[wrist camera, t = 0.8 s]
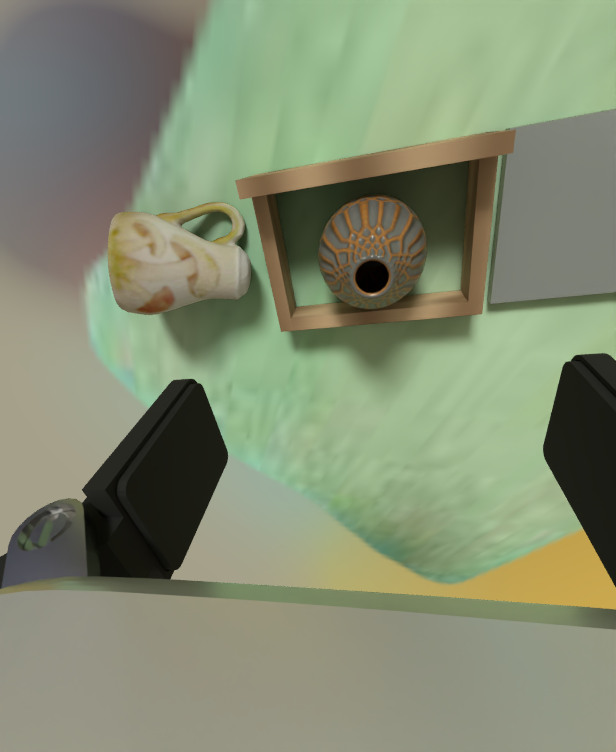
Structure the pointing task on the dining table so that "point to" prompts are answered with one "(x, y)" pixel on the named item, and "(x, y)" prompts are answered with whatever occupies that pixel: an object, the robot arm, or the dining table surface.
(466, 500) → the dining table surface
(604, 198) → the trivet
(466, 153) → the wooden frame
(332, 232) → the vase
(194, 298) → the mug
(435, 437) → the dining table surface
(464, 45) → the dining table surface
